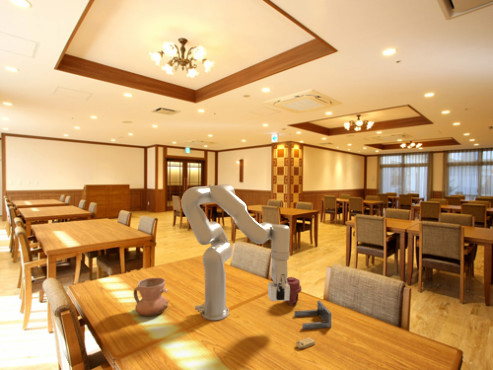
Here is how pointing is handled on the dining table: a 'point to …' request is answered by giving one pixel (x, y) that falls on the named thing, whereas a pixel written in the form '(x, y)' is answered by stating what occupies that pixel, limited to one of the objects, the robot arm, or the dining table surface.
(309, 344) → the brass key tag
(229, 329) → the dining table surface
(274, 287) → the aluminium block
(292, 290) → the mechanical component
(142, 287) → the ceramic jug
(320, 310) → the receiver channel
